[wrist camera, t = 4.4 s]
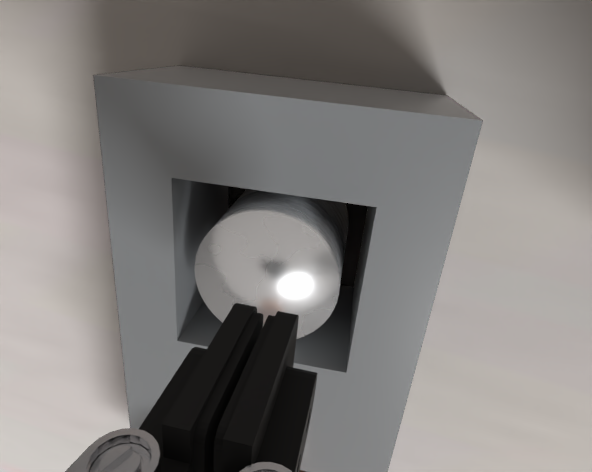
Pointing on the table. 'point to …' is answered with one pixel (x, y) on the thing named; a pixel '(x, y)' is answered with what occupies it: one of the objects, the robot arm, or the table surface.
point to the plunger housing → (292, 181)
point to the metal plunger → (275, 257)
